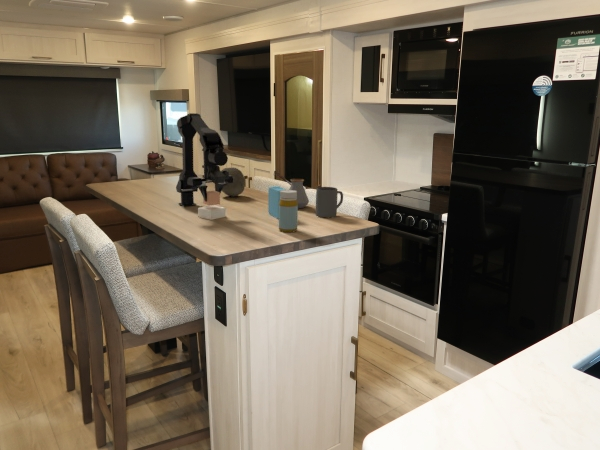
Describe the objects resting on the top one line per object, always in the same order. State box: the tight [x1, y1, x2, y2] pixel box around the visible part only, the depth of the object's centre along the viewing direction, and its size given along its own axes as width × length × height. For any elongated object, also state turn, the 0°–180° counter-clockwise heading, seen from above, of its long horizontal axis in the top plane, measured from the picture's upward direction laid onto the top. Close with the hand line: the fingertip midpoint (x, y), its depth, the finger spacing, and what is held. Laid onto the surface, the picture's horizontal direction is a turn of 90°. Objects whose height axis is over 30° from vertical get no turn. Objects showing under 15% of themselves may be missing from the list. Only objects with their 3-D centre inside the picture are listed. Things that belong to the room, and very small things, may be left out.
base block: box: [197, 205, 227, 221], centre depth 197 cm, size 8×8×4 cm
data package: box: [267, 186, 287, 220], centre depth 200 cm, size 12×4×12 cm, turn 24°
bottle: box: [278, 189, 299, 233], centre depth 176 cm, size 7×7×15 cm
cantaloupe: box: [220, 167, 246, 198], centre depth 241 cm, size 14×14×15 cm
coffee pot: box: [273, 171, 310, 209], centre depth 223 cm, size 21×12×15 cm, turn 45°
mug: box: [315, 186, 344, 219], centre depth 204 cm, size 14×9×12 cm
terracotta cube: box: [202, 190, 221, 206], centre depth 196 cm, size 5×5×5 cm
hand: (211, 200), depth 196 cm, fingers closed on terracotta cube, 5 cm apart
